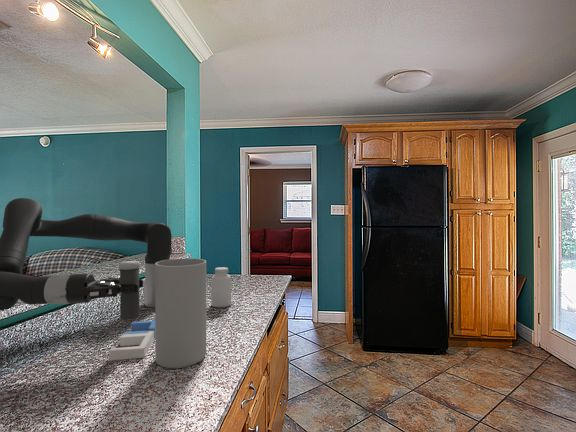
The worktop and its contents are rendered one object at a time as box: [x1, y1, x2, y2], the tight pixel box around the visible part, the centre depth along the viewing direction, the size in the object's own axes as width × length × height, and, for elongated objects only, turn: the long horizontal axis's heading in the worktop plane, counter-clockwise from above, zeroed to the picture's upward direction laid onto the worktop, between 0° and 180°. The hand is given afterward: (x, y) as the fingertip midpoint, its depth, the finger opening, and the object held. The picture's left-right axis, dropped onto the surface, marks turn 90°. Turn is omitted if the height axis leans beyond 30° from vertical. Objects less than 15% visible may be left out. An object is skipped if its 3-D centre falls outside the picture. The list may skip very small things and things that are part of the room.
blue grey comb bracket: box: [108, 319, 155, 362], centre depth 90 cm, size 8×21×3 cm, turn 12°
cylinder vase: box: [154, 257, 207, 369], centre depth 81 cm, size 12×12×25 cm
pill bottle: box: [210, 266, 232, 308], centre depth 126 cm, size 8×8×15 cm
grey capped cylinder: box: [118, 260, 141, 321], centre depth 85 cm, size 5×5×15 cm
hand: (140, 285), depth 85 cm, fingers closed on grey capped cylinder, 4 cm apart
